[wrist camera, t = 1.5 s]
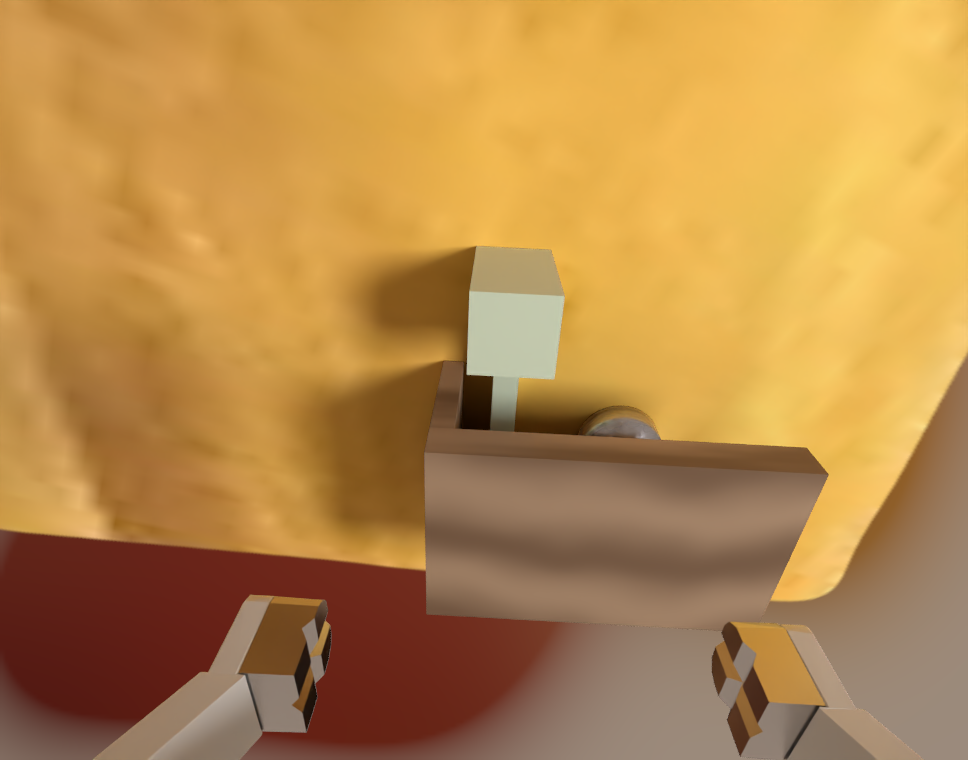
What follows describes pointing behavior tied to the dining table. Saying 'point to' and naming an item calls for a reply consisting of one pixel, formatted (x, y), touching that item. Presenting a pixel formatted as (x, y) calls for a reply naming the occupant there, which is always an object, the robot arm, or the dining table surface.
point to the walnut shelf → (606, 524)
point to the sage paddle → (513, 323)
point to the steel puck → (620, 424)
